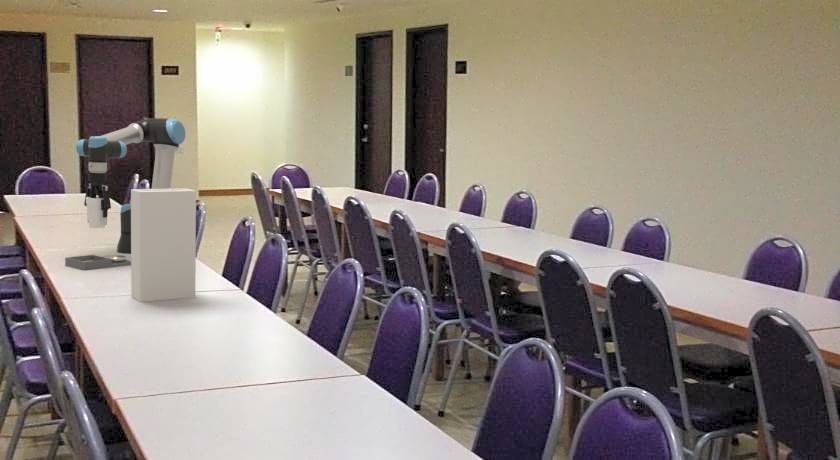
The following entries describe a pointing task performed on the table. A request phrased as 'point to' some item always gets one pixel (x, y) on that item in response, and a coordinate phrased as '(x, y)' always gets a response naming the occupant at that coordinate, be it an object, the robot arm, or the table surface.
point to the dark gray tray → (92, 262)
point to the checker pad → (116, 258)
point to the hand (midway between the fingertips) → (97, 223)
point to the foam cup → (94, 212)
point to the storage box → (163, 244)
